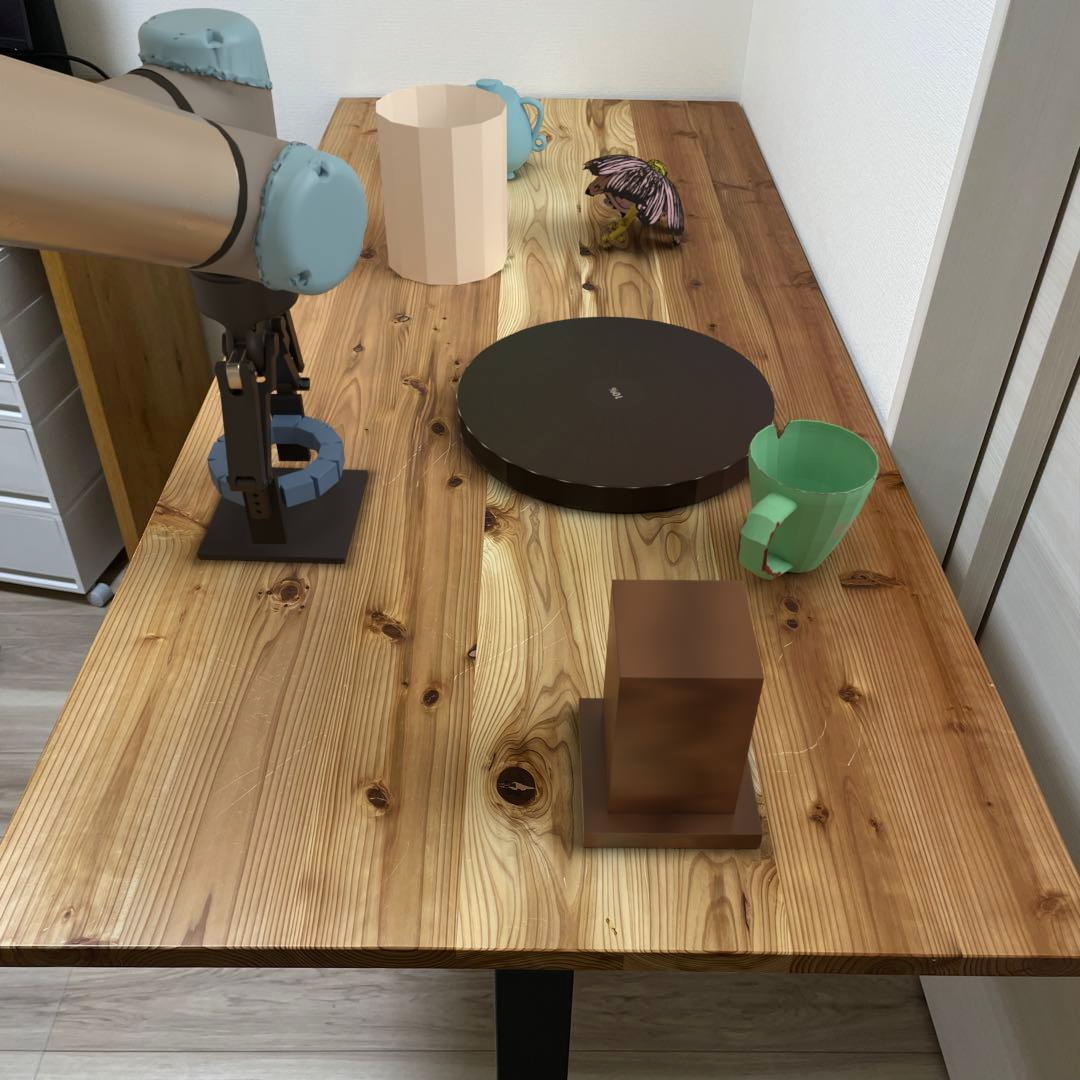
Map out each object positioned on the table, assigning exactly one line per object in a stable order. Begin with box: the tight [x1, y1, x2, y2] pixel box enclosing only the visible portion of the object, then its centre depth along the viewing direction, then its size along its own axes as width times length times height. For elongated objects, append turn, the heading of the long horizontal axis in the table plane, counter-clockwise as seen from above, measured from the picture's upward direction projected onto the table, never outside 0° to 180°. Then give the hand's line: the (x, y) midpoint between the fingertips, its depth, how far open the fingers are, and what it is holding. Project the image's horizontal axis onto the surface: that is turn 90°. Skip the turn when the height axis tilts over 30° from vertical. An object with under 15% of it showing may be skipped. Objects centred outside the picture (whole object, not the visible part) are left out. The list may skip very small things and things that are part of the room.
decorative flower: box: [582, 153, 685, 250], centre depth 130 cm, size 15×12×15 cm
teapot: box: [466, 78, 548, 180], centre depth 148 cm, size 20×17×12 cm
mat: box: [196, 466, 369, 564], centre depth 91 cm, size 12×12×1 cm
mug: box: [736, 419, 880, 581], centre depth 83 cm, size 15×10×10 cm
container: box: [375, 83, 509, 286], centre depth 124 cm, size 14×14×18 cm
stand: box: [577, 578, 765, 849], centre depth 66 cm, size 11×11×14 cm
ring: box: [207, 415, 346, 507], centre depth 87 cm, size 11×11×2 cm
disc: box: [455, 315, 776, 513], centre depth 102 cm, size 30×30×3 cm
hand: (283, 498), depth 90 cm, fingers closed on ring, 10 cm apart
